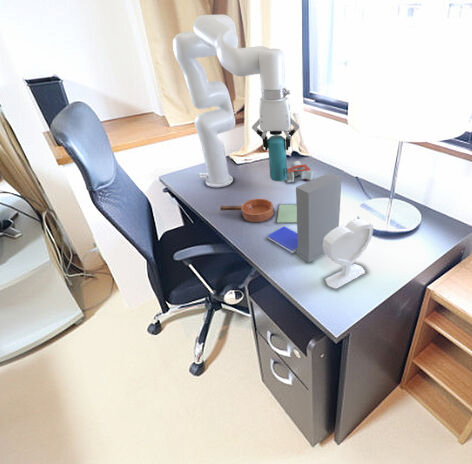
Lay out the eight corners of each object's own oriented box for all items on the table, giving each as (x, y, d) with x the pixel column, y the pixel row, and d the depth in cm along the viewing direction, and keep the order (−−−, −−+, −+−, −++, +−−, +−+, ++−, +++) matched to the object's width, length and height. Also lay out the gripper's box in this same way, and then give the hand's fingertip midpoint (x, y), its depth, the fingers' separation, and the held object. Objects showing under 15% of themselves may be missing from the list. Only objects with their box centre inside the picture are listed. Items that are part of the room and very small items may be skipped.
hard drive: (309, 239, 109) (284, 225, 116) (292, 250, 104) (267, 235, 111) (309, 242, 110) (284, 229, 117) (292, 253, 105) (267, 239, 112)
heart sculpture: (330, 291, 91) (333, 241, 80) (320, 281, 94) (320, 232, 84) (369, 270, 98) (376, 221, 88) (358, 261, 101) (363, 213, 91)
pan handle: (220, 210, 124) (220, 207, 124) (221, 208, 126) (221, 205, 125) (242, 210, 124) (241, 207, 124) (242, 208, 126) (242, 205, 125)
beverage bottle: (285, 186, 115) (282, 130, 103) (267, 184, 116) (263, 129, 104) (289, 178, 120) (287, 124, 108) (272, 176, 121) (269, 123, 109)
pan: (240, 222, 121) (238, 214, 119) (245, 206, 131) (244, 198, 129) (271, 222, 121) (271, 214, 119) (274, 206, 131) (274, 198, 129)
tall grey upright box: (325, 237, 112) (327, 171, 98) (338, 245, 109) (342, 178, 94) (296, 254, 105) (293, 186, 90) (308, 263, 101) (308, 193, 87)
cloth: (276, 222, 121) (276, 222, 120) (279, 205, 131) (279, 204, 131) (303, 222, 120) (303, 222, 120) (303, 205, 131) (303, 204, 131)
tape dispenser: (297, 167, 166) (273, 179, 152) (297, 157, 163) (272, 168, 149) (326, 173, 157) (303, 186, 143) (326, 163, 154) (303, 175, 140)
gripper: (301, 91, 103) (302, 145, 113) (248, 91, 104) (253, 145, 114) (300, 96, 97) (301, 152, 107) (244, 97, 97) (250, 153, 108)
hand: (277, 148), depth 111 cm, fingers closed on beverage bottle, 6 cm apart
